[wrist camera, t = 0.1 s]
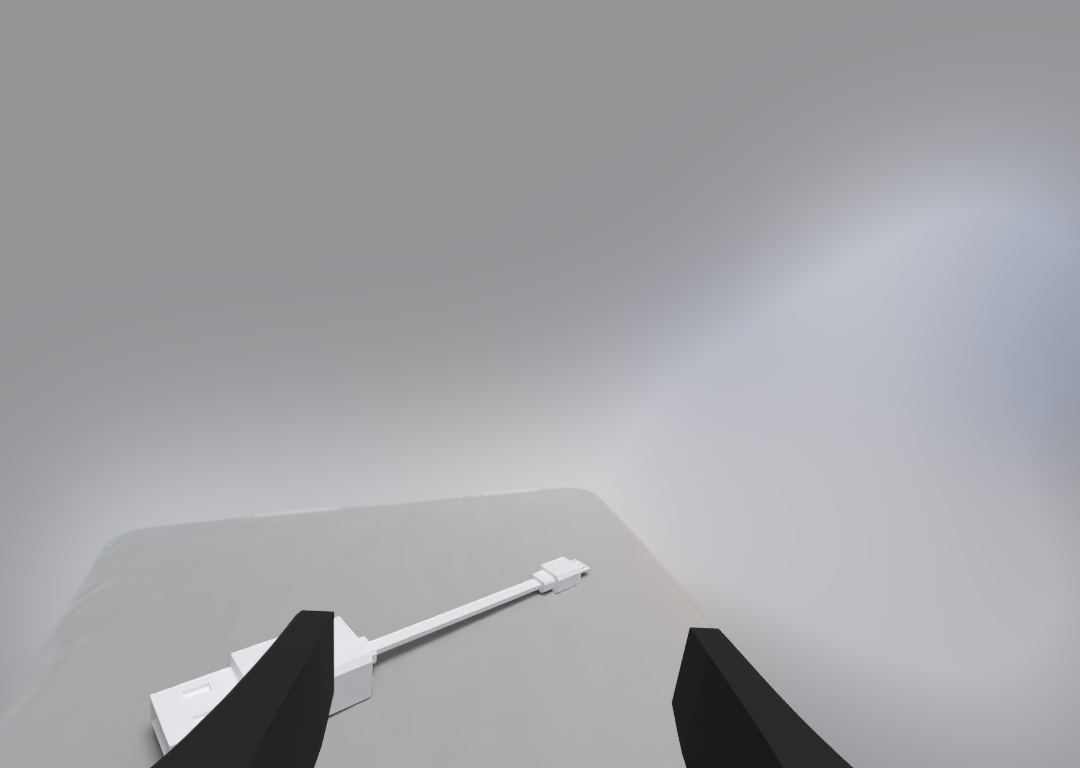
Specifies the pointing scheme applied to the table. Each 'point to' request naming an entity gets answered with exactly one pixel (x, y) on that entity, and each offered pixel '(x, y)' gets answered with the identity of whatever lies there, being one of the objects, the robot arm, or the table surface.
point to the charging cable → (352, 657)
